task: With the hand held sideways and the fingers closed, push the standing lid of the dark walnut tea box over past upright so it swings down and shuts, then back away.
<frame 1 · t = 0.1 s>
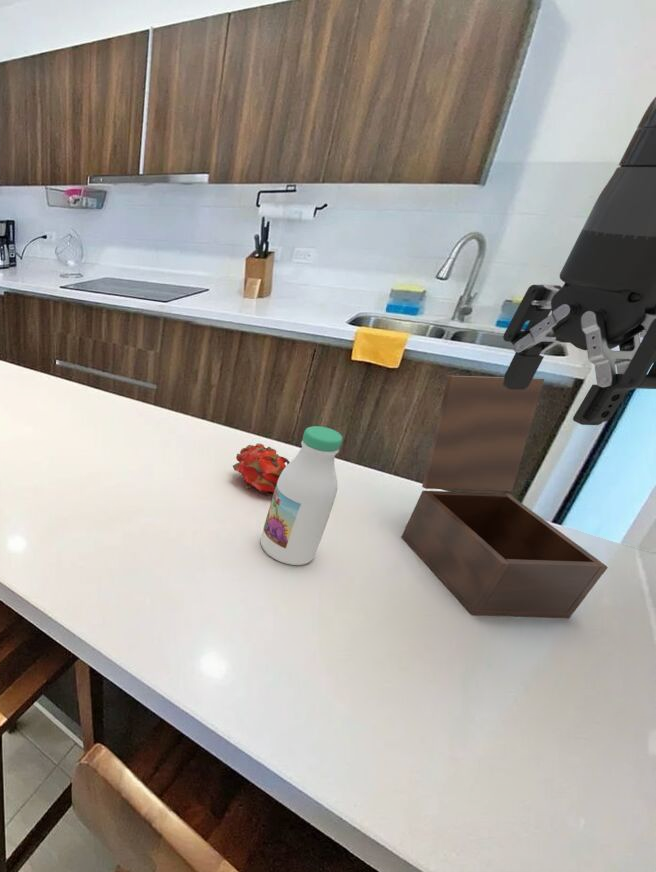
hand: (547, 404, 50), 30 cm above the counter, tool pointing down, fingers open, 8 cm apart
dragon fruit: (261, 487, 90), on the counter
milk bottle: (285, 550, 76), on the counter
tea lid: (480, 434, 72), point 17 cm above the counter, hinge at 104.0°
tea box: (477, 573, 72), on the counter
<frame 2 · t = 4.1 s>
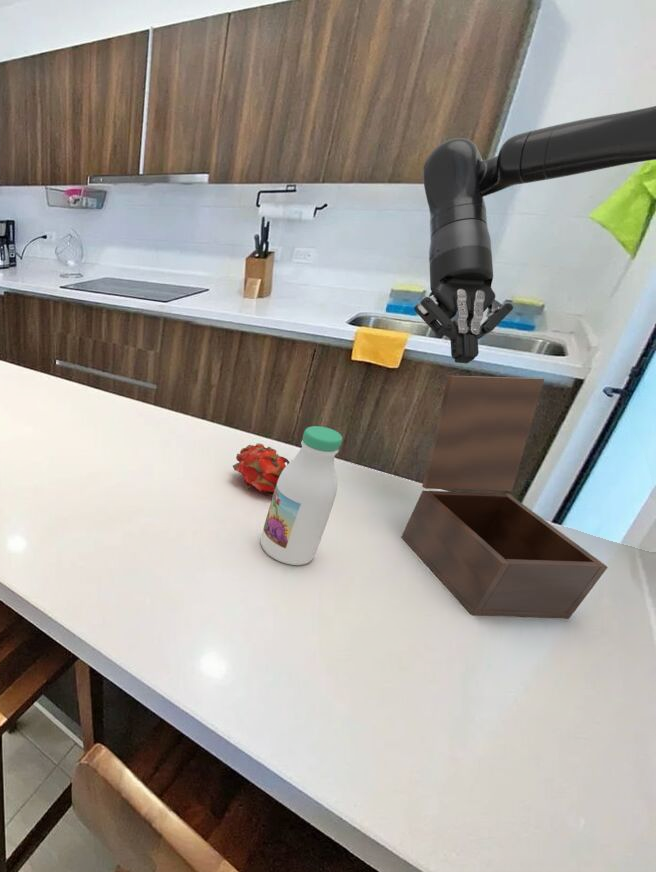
hand: (465, 360, 73), 26 cm above the counter, tool tilted 45°, fingers closed
nothing on the counter moved.
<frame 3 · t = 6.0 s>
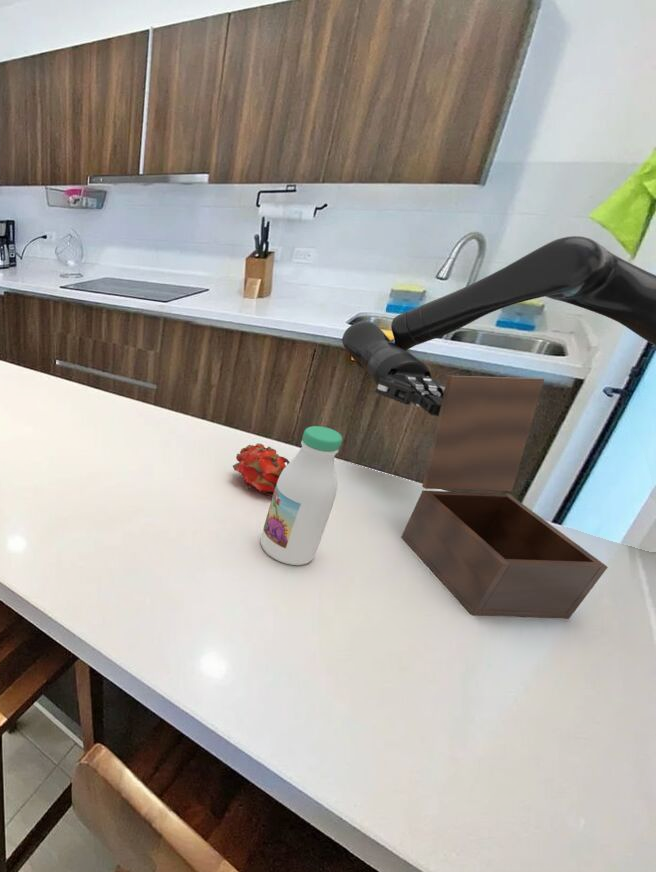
hand: (440, 410, 78), 18 cm above the counter, tool horizontal, fingers closed
nothing on the counter moved.
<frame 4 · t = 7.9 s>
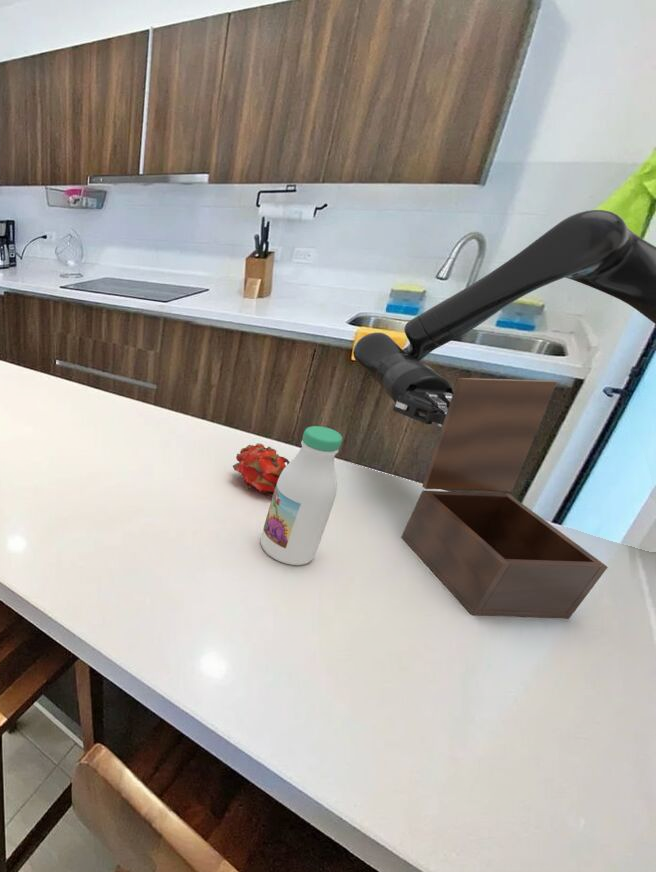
hand: (466, 432, 71), 18 cm above the counter, tool horizontal, fingers closed
tea lid: (486, 436, 71), point 18 cm above the counter, hinge at 97.4°
everything else where it was.
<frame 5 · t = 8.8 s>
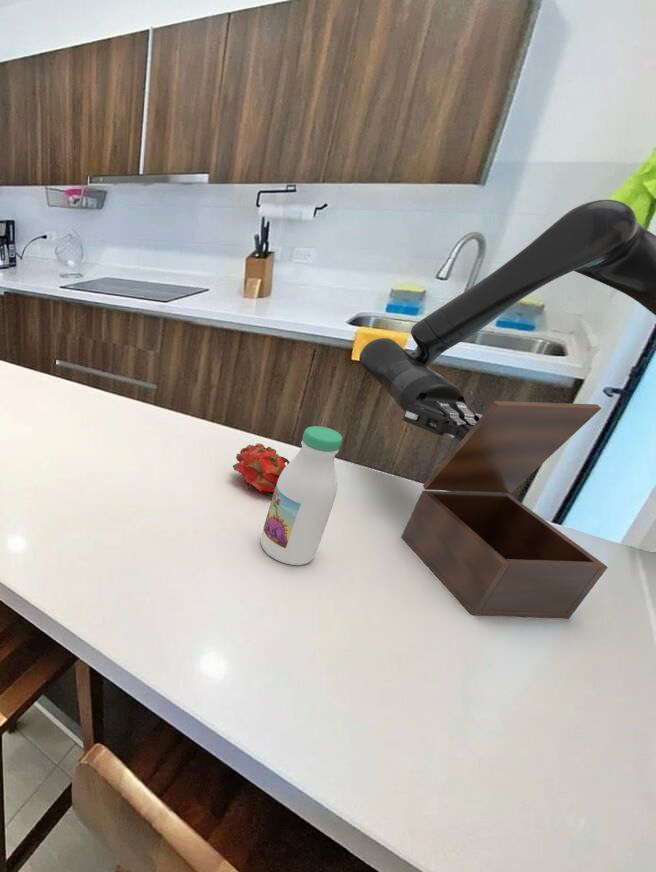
hand: (480, 444, 68), 18 cm above the counter, tool horizontal, fingers closed
tea lid: (503, 450, 68), point 17 cm above the counter, hinge at 73.3°, touching gripper
everything else where it was.
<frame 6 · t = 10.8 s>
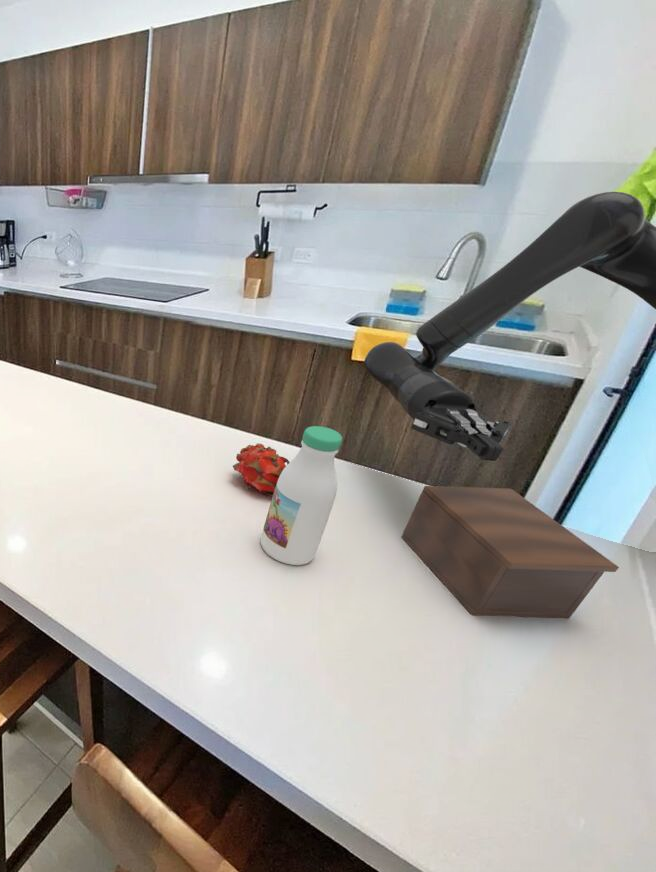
hand: (493, 454, 66), 18 cm above the counter, tool horizontal, fingers closed
tea lid: (509, 524, 67), point 9 cm above the counter, hinge at -0.1°
everything else where it was.
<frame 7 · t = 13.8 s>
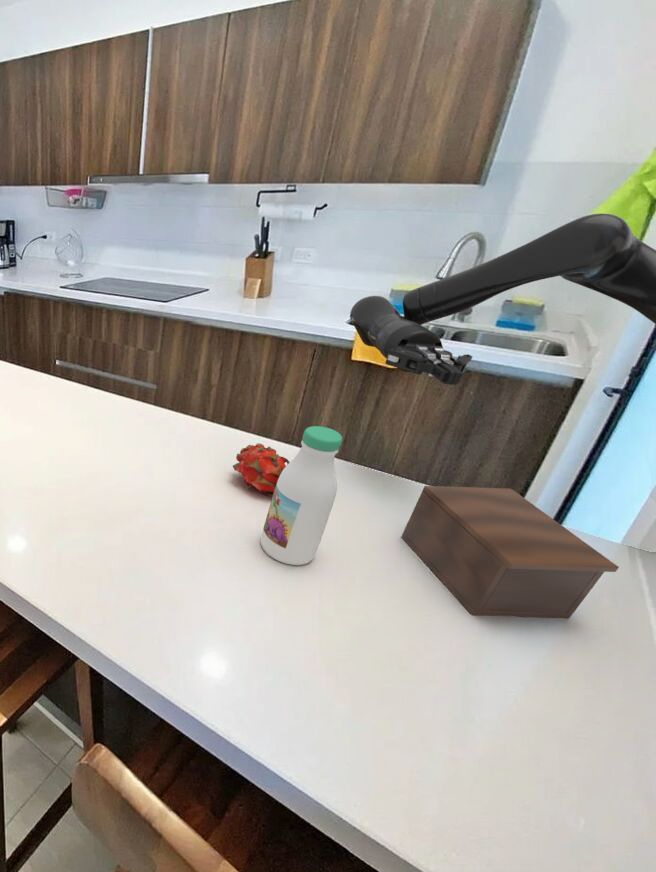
hand: (454, 378, 75), 23 cm above the counter, tool horizontal, fingers closed
nothing on the counter moved.
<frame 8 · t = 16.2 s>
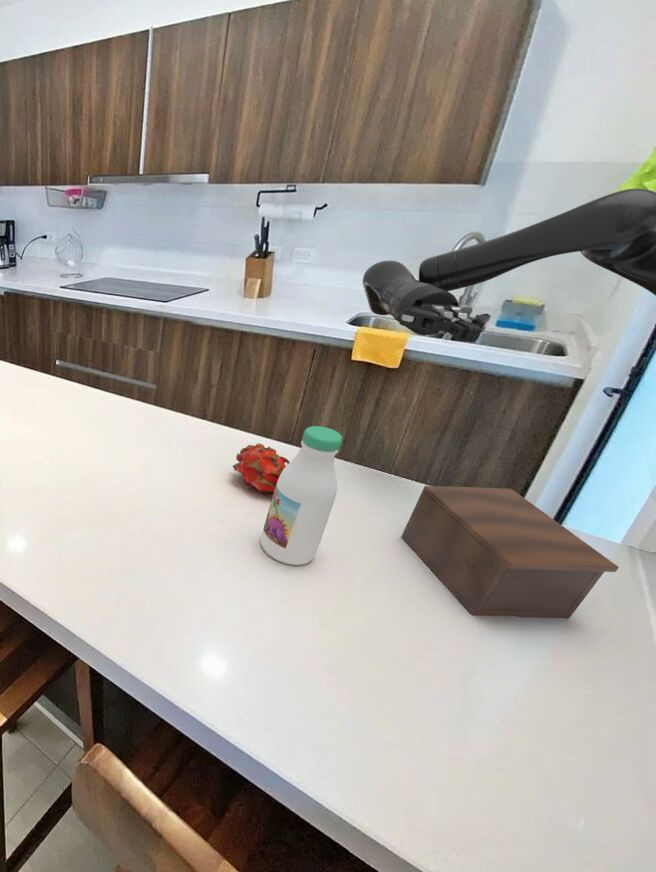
hand: (472, 335, 72), 30 cm above the counter, tool horizontal, fingers closed
nothing on the counter moved.
at the end: tea lid at +0° (first picture: +104°); milk bottle moved 0.2 cm from its start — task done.
